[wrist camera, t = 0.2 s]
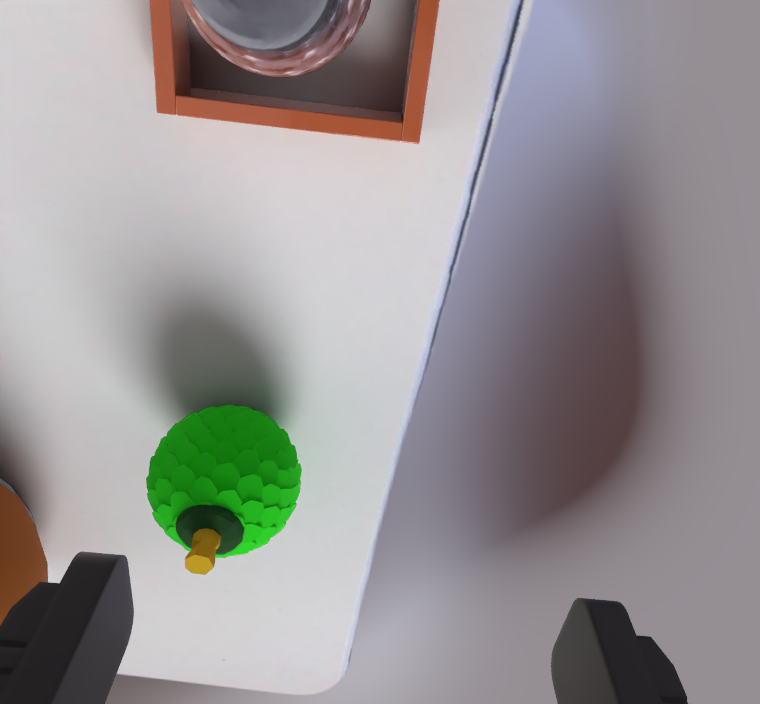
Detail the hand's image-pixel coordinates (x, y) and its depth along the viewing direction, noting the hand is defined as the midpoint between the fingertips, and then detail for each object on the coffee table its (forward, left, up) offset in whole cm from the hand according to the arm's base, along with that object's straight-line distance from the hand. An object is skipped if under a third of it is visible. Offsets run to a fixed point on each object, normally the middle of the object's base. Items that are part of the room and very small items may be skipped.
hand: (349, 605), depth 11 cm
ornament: (+14, -6, -23) cm, 27 cm away
